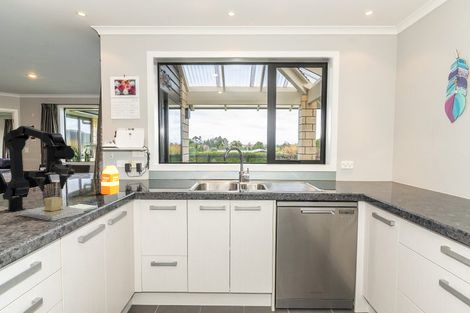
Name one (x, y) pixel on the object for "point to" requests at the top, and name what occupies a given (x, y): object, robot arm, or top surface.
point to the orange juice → (110, 180)
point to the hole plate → (52, 213)
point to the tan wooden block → (52, 204)
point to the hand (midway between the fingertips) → (52, 190)
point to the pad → (83, 206)
